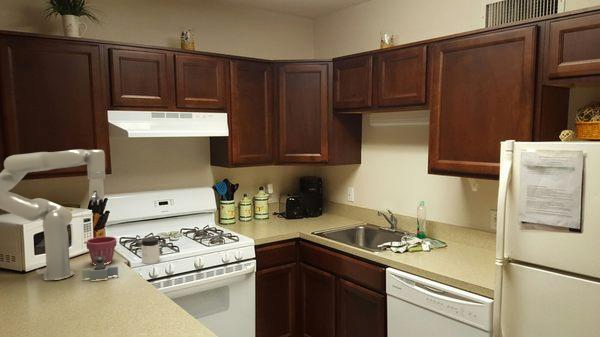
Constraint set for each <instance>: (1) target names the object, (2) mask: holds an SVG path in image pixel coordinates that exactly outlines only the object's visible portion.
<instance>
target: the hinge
mask: <svg viewBox="0 0 600 337" xmlns="http://www.w3.org/2000/svg"><path fill="white" fill-rule="evenodd" d="M110 265H111V264H109V265H106V266H104V269H102V270H97V269H96V266H93V267H92V268H83V269H81V278H82V279H85V278H90V279H91V280H96V279H105V278H108V276H113V275H118V276H119V267H118V266H110ZM91 280H90V281H91Z"/></svg>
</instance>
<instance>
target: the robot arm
mask: <svg viewBox="0 0 600 337" xmlns="http://www.w3.org/2000/svg"><path fill="white" fill-rule="evenodd" d="M105 158H106V155H105V151H104V149H83V148H81V149H80V148H79V149H69V150H63V151H62V150H61V151H53V152H52V151H50V152H48V151H39V152H31V153H21V154H13V155H10V156H8V157H6V158H5V160H4V161H3V166H4V169H2V171H1V172H0V209H1V210H3V211H5V212H8V213H10V214H12V215H14V216H17V217H20V218H22V219H24V220H27V221H31V222H33V221H38V220H42V229H43V233H44V234H43V235H44V248H45V250H44V251H45V266H46V267H45V268H44V269H36V271H35V272H36V275H38V276H39V275H43V276H42V279H43V278H44V279H47V280H55V279H61V278H65V277H68V276H71V275H72V274H73V273H74V271H73V270H71V267H70V261H71V260H70V243H69V242H70V240H69V233H68V226H69V225H70V223H71V222H72V220H73V213H72V212H71V210H69V209H68V208H67V207H65V206H63V205H60V204H57V203H55V202H52V201H50V200H48V199H45V198H40V197H38V198H33V199H30V198H27V197H24V196H21V195H19V194H17V193H14V192H10V190H12V189H13V188H14V187H16V186H17V185H18V183H19V182H21V180H22V179H23V178H24V177H25V176H26V175H27V174H28V173H32V172H33V173H34V172H41V171H42V172H44V171H51V170H55V169H65V168H72V167H73V168H74V167H79V166H85V165H86V166H87V168H86V169H87V180H89V184H88V187H89V188H88V190H89V191H88V200H89V201H91V214H94V215H95V214H100V213H101V212H100V211H103V210H104V209H105V208H104V197H105V188H104V180H105V179H106V160H105ZM71 273H72V274H71ZM74 274H75V273H74Z"/></svg>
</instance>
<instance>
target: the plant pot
mask: <svg viewBox="0 0 600 337" xmlns="http://www.w3.org/2000/svg"><path fill="white" fill-rule="evenodd" d="M117 243H118V242H117V238H116V237H113V236H97V237H92V238H89V239H87V240H86V242H85V244H86V249H87V250H88V251H89V257H90V260H91V264H92V263H94V264H96V261H94V257H96V256H105V260H103V263H107V262H110V261H112V262H113V257H114V253H115V248H116V247H117Z"/></svg>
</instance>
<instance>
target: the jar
mask: <svg viewBox="0 0 600 337" xmlns="http://www.w3.org/2000/svg"><path fill="white" fill-rule="evenodd" d="M140 247H141V263H142V264H144V265H145V264H146V265H151V264H157V263H158V262H159V261H160V259H161V257H160V243H159V238H158V237H147V238H143V239H142V241H141V246H140Z"/></svg>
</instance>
